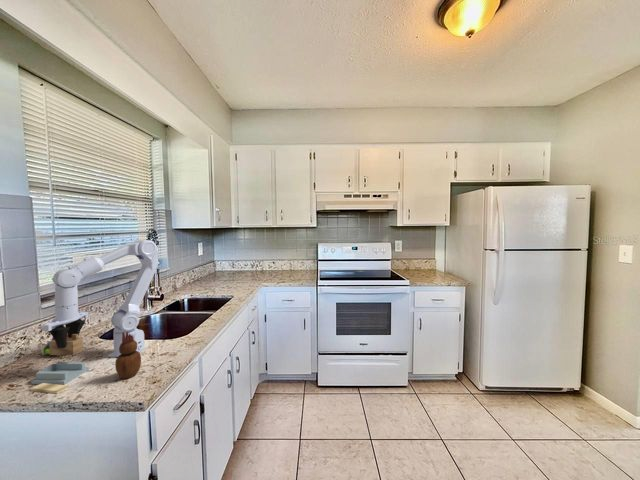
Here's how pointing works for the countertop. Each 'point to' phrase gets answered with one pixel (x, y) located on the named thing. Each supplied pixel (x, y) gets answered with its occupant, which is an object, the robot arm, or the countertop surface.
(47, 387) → the plank
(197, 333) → the countertop surface
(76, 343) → the tan pegged block
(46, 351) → the rainbow segmented toy
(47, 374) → the jig
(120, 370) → the wooden figurine
